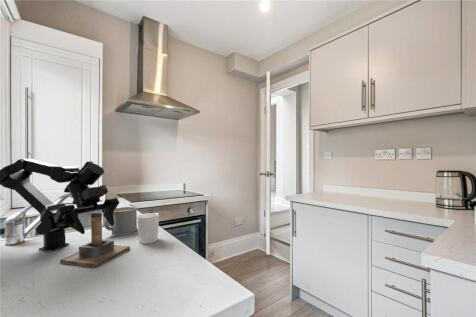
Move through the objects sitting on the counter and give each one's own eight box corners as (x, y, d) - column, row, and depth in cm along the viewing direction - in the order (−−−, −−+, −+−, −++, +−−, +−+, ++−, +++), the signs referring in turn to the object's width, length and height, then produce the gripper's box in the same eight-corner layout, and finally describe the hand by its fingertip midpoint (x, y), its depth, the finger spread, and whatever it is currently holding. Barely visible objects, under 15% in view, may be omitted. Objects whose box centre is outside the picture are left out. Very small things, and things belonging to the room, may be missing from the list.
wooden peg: (89, 253, 74) (88, 214, 74) (97, 250, 77) (96, 212, 77) (96, 254, 73) (96, 214, 73) (104, 251, 76) (103, 212, 76)
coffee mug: (131, 226, 108) (131, 205, 108) (140, 231, 101) (140, 208, 101) (100, 233, 98) (99, 210, 98) (107, 239, 91) (107, 214, 91)
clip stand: (59, 262, 70) (59, 250, 70) (98, 245, 84) (98, 235, 84) (95, 267, 66) (95, 254, 67) (129, 249, 80) (129, 238, 80)
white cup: (151, 245, 84) (151, 218, 84) (133, 243, 85) (132, 217, 85) (162, 237, 92) (162, 213, 92) (145, 236, 93) (145, 212, 93)
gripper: (57, 180, 69) (75, 221, 64) (116, 176, 85) (135, 208, 80) (46, 204, 73) (63, 244, 67) (104, 195, 89) (121, 227, 84)
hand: (99, 229), depth 74 cm, fingers open, 9 cm apart
